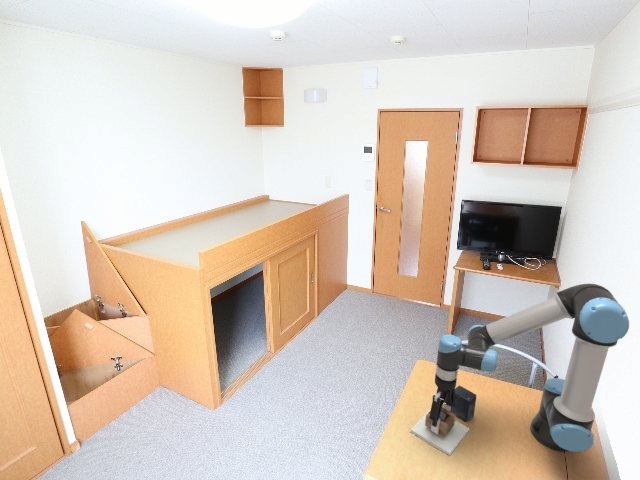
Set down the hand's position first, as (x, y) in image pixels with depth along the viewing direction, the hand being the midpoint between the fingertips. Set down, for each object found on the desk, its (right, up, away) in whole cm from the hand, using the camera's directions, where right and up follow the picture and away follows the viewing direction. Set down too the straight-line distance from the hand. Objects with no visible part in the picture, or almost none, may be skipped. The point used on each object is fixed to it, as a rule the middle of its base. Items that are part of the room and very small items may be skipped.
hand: (440, 425), depth 148 cm
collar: (0, 0, 0) cm, 0 cm away
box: (+12, 0, +10) cm, 15 cm away
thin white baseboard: (0, -3, +1) cm, 3 cm away
